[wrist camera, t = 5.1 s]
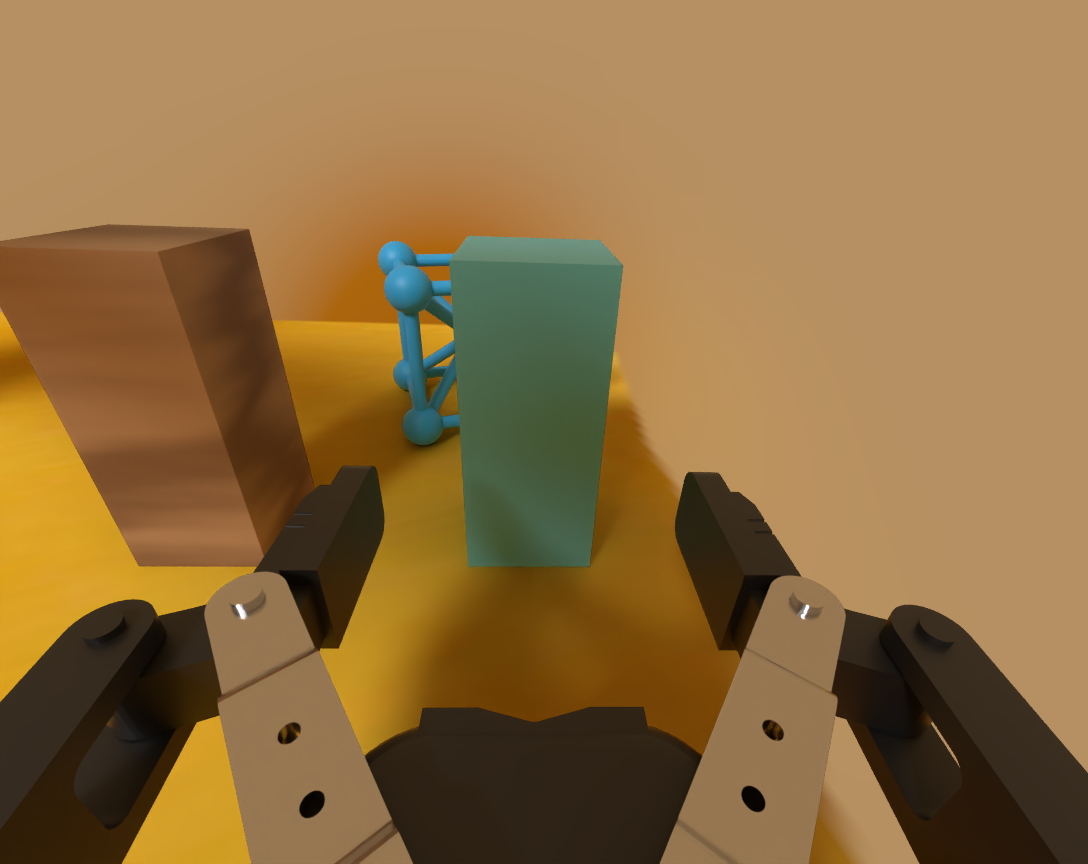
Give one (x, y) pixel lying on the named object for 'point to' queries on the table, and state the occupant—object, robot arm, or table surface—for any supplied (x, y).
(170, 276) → the walnut pillar
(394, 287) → the molecular structure
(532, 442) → the teal pillar
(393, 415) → the table surface
